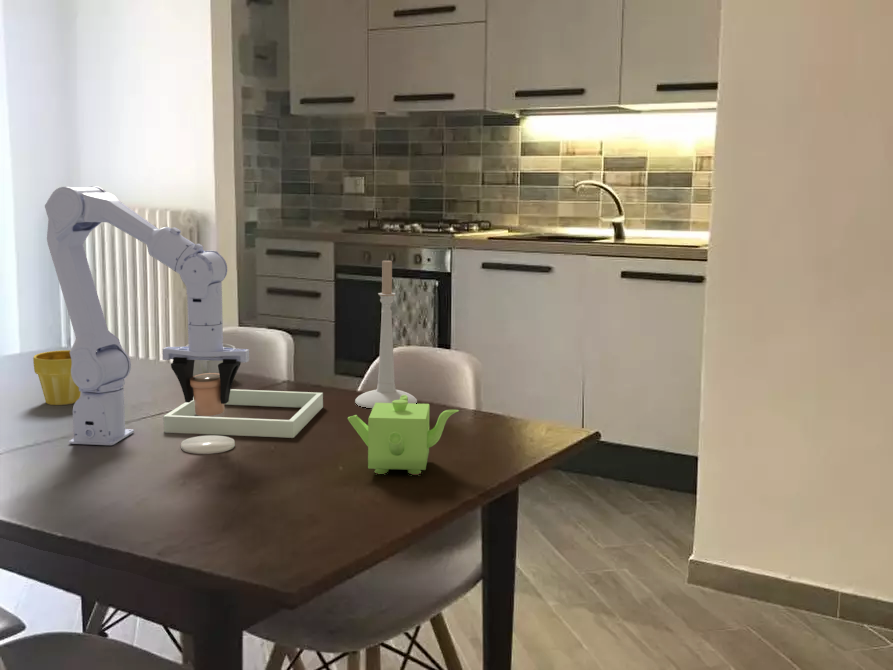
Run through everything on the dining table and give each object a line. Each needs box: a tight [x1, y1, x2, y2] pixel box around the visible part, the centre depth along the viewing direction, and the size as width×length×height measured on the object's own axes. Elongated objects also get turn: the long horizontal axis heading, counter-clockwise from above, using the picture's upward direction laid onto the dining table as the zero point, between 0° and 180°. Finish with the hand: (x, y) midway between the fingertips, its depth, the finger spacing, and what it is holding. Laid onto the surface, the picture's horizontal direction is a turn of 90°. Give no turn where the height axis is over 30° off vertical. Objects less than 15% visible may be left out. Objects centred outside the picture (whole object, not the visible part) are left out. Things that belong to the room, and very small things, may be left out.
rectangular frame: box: [163, 388, 324, 439], centre depth 192 cm, size 24×24×3 cm
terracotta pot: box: [190, 373, 226, 417], centre depth 172 cm, size 6×6×6 cm
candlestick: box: [354, 258, 418, 410], centre depth 205 cm, size 13×13×30 cm
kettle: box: [347, 395, 460, 475], centre depth 162 cm, size 15×14×11 cm
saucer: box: [180, 434, 236, 455], centre depth 173 cm, size 9×9×1 cm
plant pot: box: [32, 349, 81, 406], centre depth 203 cm, size 10×10×10 cm
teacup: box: [185, 343, 236, 376], centre depth 226 cm, size 14×11×8 cm
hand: (207, 401), depth 172 cm, fingers closed on terracotta pot, 6 cm apart
